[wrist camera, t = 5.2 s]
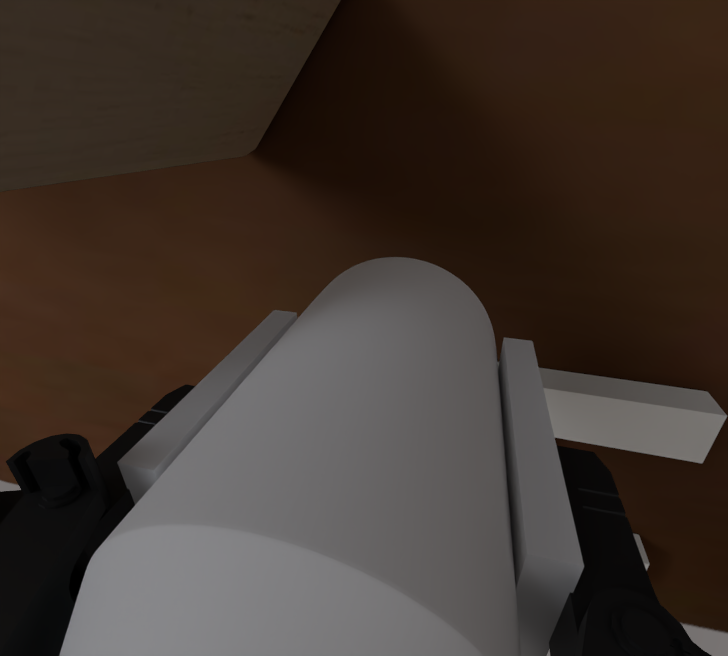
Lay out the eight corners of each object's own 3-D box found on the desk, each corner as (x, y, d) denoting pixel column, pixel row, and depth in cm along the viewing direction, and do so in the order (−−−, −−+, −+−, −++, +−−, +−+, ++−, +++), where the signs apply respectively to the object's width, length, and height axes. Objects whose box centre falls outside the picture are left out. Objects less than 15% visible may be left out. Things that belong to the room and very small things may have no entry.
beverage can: (530, 362, 14) (691, 1122, 3) (385, 427, 17) (231, 949, 6) (425, 207, 12) (147, 724, 2) (285, 308, 15) (-131, 733, 5)
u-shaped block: (431, 352, 24) (427, 370, 22) (707, 391, 21) (727, 415, 19) (414, 515, 30) (410, 539, 29) (624, 564, 27) (633, 594, 25)
